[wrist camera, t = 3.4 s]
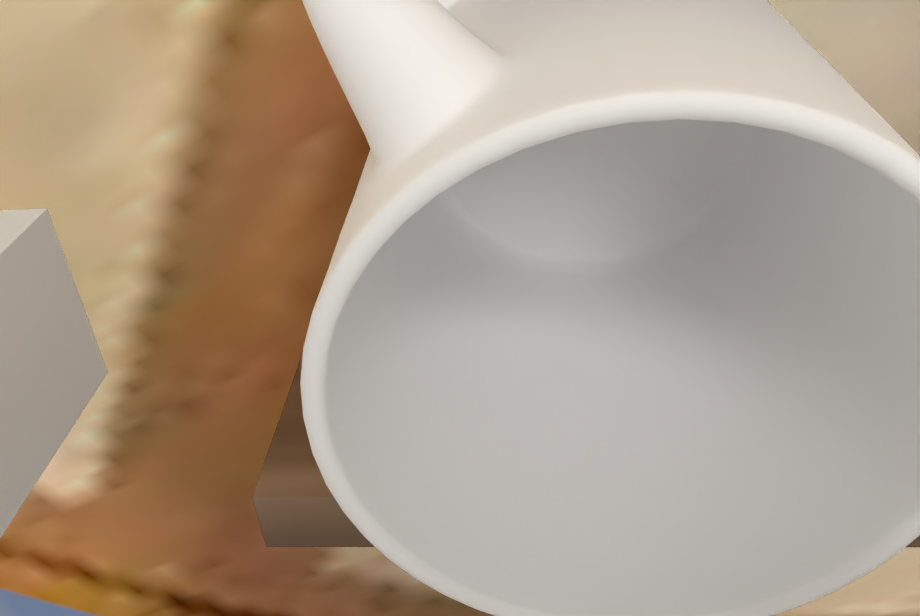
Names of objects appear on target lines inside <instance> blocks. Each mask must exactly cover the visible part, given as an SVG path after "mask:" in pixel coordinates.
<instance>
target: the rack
mask: <svg viewBox="0 0 920 616" xmlns="http://www.w3.org/2000/svg"><path fill="white" fill-rule="evenodd" d="M302 356H303V353H302ZM302 356H301V359H300V362H299V365H298V368H297V370H296V373H295V376H294V379H293V382H292V385H291V388H290V391H289V393H288V396H287V399H286V402H285V405H284V408H283V411H282V413H281V416H280V419H279V422H278V425H277V428H276V431H275V433H274V436H273V439H272V442H271V445H270V448H269V451H268V453H267V456H266V459H265V462H264V465H263V468H262V471H261V474H260V476H259V479H258V482H257V485H256V488H255V491H254V494H253V496H252V499H253V502H254V506H255V509H256V513H257V516H258V520H259V523H260V527H261V530H262V534H263V537H264V541H265V544H266V547H375V546H374V545H373V544H372V543H370V542H369V541H368V540H367V539H366V538H365V537H364V536H363V535H362V534H361V532H360V531H359V530H358V529H357V528H356V526H355V525H354V524H353V523H352V522H351V520H350V519H349V518H348V517H347V516H346V514H345V513H344V512H343V511H342V509H341V507H340V506H339V504H338V503H337V501H336V500H335V498H334V496H333V495H332V493H331V492H330V490H329V488H328V487H327V485H326V483H325V481H324V479H323V476H322V474H321V472H320V470H319V467H318V465H317V463H316V460H315V458H314V456H313V453H312V450H311V446H310V442H309V438H308V434H307V431H306V427H305V423H304V419H303V410H302V398H301V386H300V380H301V368H302ZM906 547H920V535H919V536H918V537H917V538H916V539H915V540H913V541H912V542H911V543H910V544H909V545H907V546H906Z"/></svg>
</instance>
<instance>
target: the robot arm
mask: <svg viewBox="0 0 920 616" xmlns="http://www.w3.org/2000/svg"><path fill="white" fill-rule="evenodd" d="M107 373H108V371H107V369H106V366H105V363H104V361H103V358H102V355H101V353H100V350H99V347H98V345H97V342H96V339H95V336H94V334H93V331H92V328H91V326H90V323H89V320H88V318H87V315H86V312H85V310H84V307H83V304H82V301H81V299H80V296H79V293H78V291H77V288H76V285H75V283H74V280H73V277H72V275H71V272H70V269H69V267H68V264H67V261H66V258H65V256H64V253H63V250H62V248H61V245H60V242H59V240H58V237H57V234H56V232H55V229H54V226H53V223H52V221H51V218H50V215H49V213H48V210H47V208H46V209H20V210H0V538H1V536H2V535H3V533H4V532H5V530H6V529H7V527H8V526H9V524H10V522H11V521H12V519H13V518H14V516H15V515H16V513H17V512H18V510H19V509H20V507H21V505H22V504H23V502H24V501H25V499H26V498H27V496H28V495H29V493H30V492H31V490H32V488H33V487H34V485H35V484H36V482H37V481H38V479H39V478H40V476H41V475H42V473H43V471H44V470H45V468H46V467H47V465H48V464H49V462H50V461H51V459H52V458H53V456H54V454H55V453H56V451H57V450H58V448H59V447H60V445H61V444H62V442H63V441H64V439H65V437H66V436H67V434H68V433H69V431H70V430H71V428H72V427H73V425H74V424H75V422H76V420H77V419H78V417H79V416H80V414H81V413H82V411H83V410H84V408H85V407H86V405H87V403H88V402H89V400H90V399H91V397H92V396H93V394H94V393H95V391H96V390H97V388H98V386H99V385H100V383H101V382H102V380H103V379H104V377H105V376H106V374H107Z"/></svg>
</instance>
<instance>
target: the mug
mask: <svg viewBox="0 0 920 616" xmlns="http://www.w3.org/2000/svg"><path fill="white" fill-rule="evenodd" d="M302 2H303V4H304V7H305V9H306V12H307V14H308V17H309V19H310V22H311V24H312V26H313V28H314V31H315V33H316V35H317V37H318V39H319V41H320V44H321V46H322V48H323V50H324V52H325V54H326V57H327V59H328V61H329V63H330V65H331V67H332V69H333V71H334V73H335V75H336V77H337V79H338V81H339V83H340V85H341V87H342V89H343V91H344V93H345V96H346V98H347V100H348V102H349V104H350V106H351V108H352V110H353V112H354V114H355V116H356V118H357V120H358V122H359V124H360V126H361V128H362V130H363V132H364V134H365V137H366V139H367V142H368V144H369V146H370V152H369V154H368V157H367V160H366V163H365V166H364V169H363V172H362V175H361V178H360V181H359V183H358V186H357V189H356V192H355V195H354V198H353V201H352V203H351V206H350V209H349V211H348V214H347V217H346V219H345V222H344V225H343V227H342V230H341V233H340V236H339V239H338V242H337V245H336V248H335V250H334V253H333V256H332V259H331V262H330V265H329V268H328V271H327V274H326V276H325V279H324V282H323V285H322V287H321V290H320V293H319V295H318V298H317V301H316V303H315V306H314V309H313V311H312V315H311V319H310V323H309V327H308V331H307V335H306V339H305V343H304V347H303V356H302V368H301V380H300V386H301V398H302V410H303V419H304V423H305V427H306V431H307V434H308V438H309V442H310V446H311V450H312V453H313V456H314V458H315V460H316V463H317V465H318V467H319V470H320V472H321V474H322V476H323V479H324V481H325V483H326V485H327V487H328V488H329V490H330V492H331V493H332V495H333V496H334V498H335V500H336V501H337V503H338V504H339V506H340V507H341V509H342V511H343V512H344V513H345V514H346V516H347V517H348V518H349V519H350V520H351V522H352V523H353V524H354V525H355V526H356V528H357V529H358V530H359V531H360V532H361V534H362V535H363V536H364V537H365V538H366V539H367V540H368V541H369V542H370V543H372V544H373V545H374V546H375V547H376V548H377V549H378V550H379V551H380V552H381V553H382V554H383V555H384V556H386V557H387V558H388V559H389V560H390V561H392V562H393V563H395V564H396V565H397V566H399V567H400V568H401V569H403V570H404V571H406V572H407V573H408V574H410V575H411V576H412V577H414V578H415V579H417V580H419V581H421V582H422V583H424V584H426V585H428V586H429V587H431V588H433V589H435V590H436V591H438V592H440V593H441V594H443V595H445V596H447V597H450V598H452V599H454V600H456V601H459V602H461V603H463V604H465V605H468V606H470V607H472V608H474V609H477V610H480V611H483V612H485V613H488V614H491V615H494V616H772V615H775V614H778V613H781V612H784V611H787V610H790V609H793V608H796V607H799V606H802V605H804V604H806V603H808V602H811V601H813V600H815V599H818V598H820V597H822V596H825V595H827V594H829V593H831V592H834V591H836V590H838V589H840V588H841V587H843V586H845V585H847V584H849V583H851V582H852V581H854V580H856V579H858V578H860V577H862V576H863V575H865V574H867V573H869V572H870V571H872V570H873V569H875V568H876V567H878V566H879V565H881V564H882V563H884V562H885V561H887V560H888V559H890V558H891V557H893V556H894V555H896V554H897V553H899V552H900V551H901V550H903V549H904V548H905V547H906V546H907V545H909V544H910V543H911V542H912V541H913V540H915V539H916V538H917V537H918V536H919V535H920V156H919V155H918V154H917V153H916V152H915V151H914V149H913V148H912V147H911V146H910V145H909V144H908V143H907V142H906V141H905V140H904V139H903V138H902V137H901V136H900V135H899V134H898V133H897V132H896V131H895V130H894V129H893V128H892V127H891V126H890V125H889V124H888V123H887V122H886V121H885V120H884V119H883V118H882V117H881V116H880V115H879V114H878V113H877V112H876V111H875V110H874V109H873V108H872V107H871V106H870V105H869V104H868V103H867V102H866V101H865V100H864V99H863V98H862V97H861V96H860V95H859V94H858V93H857V92H856V91H855V90H854V89H853V87H852V86H851V85H850V84H849V83H848V82H847V81H846V80H845V79H844V78H843V77H842V76H841V75H840V74H839V73H838V72H837V71H836V70H835V69H834V68H833V67H832V66H831V65H830V64H829V63H828V62H827V61H826V60H825V59H824V58H823V57H822V56H821V55H820V54H819V53H818V52H817V51H816V50H815V49H814V48H813V47H812V46H811V45H810V44H809V43H808V42H807V41H806V40H805V39H804V38H803V37H802V36H801V35H800V34H799V33H798V32H797V31H796V30H795V29H794V28H793V26H792V25H791V24H790V23H789V22H788V21H787V20H786V19H785V18H784V17H783V16H782V15H781V14H780V13H779V12H778V11H777V10H776V9H775V8H774V7H773V6H772V5H771V4H770V3H769V2H768V1H767V0H302Z"/></svg>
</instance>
